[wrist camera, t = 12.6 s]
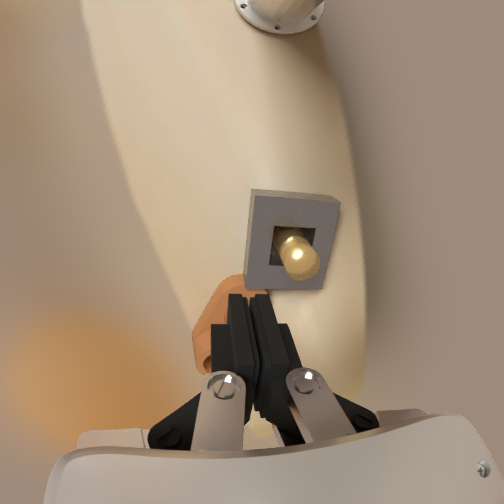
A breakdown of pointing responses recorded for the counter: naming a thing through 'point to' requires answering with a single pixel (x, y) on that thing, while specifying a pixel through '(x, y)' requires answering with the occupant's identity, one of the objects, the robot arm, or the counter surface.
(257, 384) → the robot arm
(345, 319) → the counter surface
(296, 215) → the plate
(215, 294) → the bracket
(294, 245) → the gold rounded cylinder
